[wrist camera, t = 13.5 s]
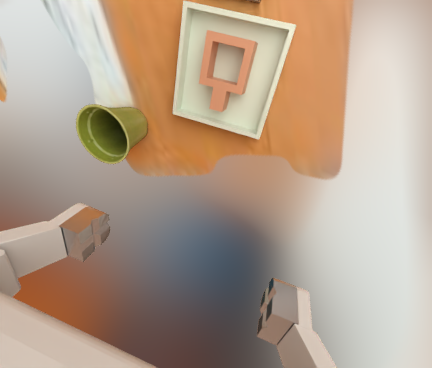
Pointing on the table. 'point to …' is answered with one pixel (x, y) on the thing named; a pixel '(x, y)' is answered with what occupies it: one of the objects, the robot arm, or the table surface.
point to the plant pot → (110, 131)
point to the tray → (229, 67)
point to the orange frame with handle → (208, 63)
